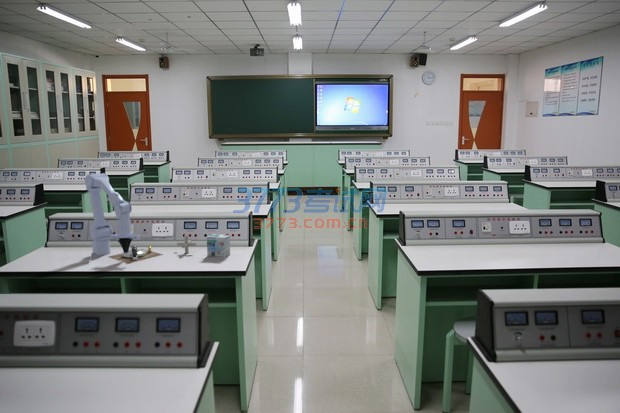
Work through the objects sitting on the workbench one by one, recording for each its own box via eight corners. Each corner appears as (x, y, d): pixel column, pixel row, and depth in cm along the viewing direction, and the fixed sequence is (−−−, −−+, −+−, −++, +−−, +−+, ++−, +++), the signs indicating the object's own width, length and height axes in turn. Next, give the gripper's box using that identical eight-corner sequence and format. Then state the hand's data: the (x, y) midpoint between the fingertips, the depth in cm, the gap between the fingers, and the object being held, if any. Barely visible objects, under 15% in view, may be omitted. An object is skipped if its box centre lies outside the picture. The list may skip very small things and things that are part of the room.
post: (130, 251, 234) (130, 246, 233) (135, 250, 236) (134, 245, 235) (133, 252, 232) (133, 246, 231) (138, 251, 234) (137, 245, 233)
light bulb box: (207, 256, 237) (206, 236, 235) (212, 252, 243) (211, 233, 242) (225, 257, 234) (224, 237, 233) (230, 253, 241) (230, 234, 239)
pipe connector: (198, 250, 247) (198, 233, 245) (192, 255, 237) (191, 237, 236) (181, 250, 248) (180, 232, 246) (174, 255, 238) (173, 237, 237)
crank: (122, 253, 237) (121, 243, 236) (146, 250, 242) (145, 241, 241) (122, 261, 223) (121, 250, 222) (147, 258, 227) (147, 248, 226)
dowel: (147, 252, 239) (147, 246, 238) (150, 252, 240) (149, 246, 240) (149, 253, 238) (148, 247, 237) (151, 252, 239) (151, 246, 239)
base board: (107, 258, 232) (107, 256, 232) (142, 250, 248) (141, 248, 247) (128, 265, 220) (128, 263, 220) (163, 256, 236) (163, 254, 235)
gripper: (106, 227, 219) (108, 254, 222) (134, 228, 218) (136, 254, 220) (113, 224, 226) (115, 250, 229) (140, 225, 225) (142, 251, 227)
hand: (126, 252), depth 225 cm, fingers closed
